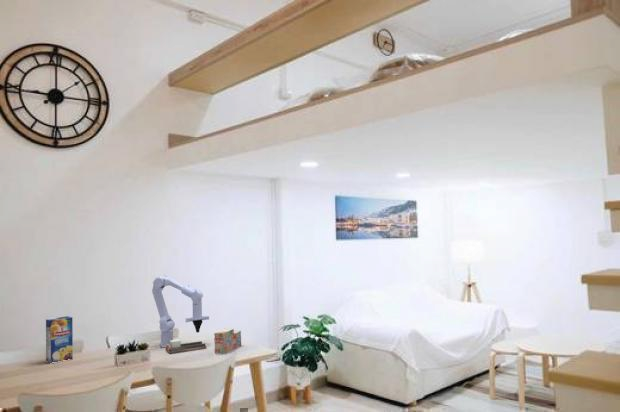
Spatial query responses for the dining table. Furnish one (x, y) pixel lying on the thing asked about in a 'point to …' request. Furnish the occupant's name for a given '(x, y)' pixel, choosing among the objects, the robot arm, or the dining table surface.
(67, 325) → the blue food box
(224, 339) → the stack of blocks
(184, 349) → the chute
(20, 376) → the dining table surface
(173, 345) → the sage block
